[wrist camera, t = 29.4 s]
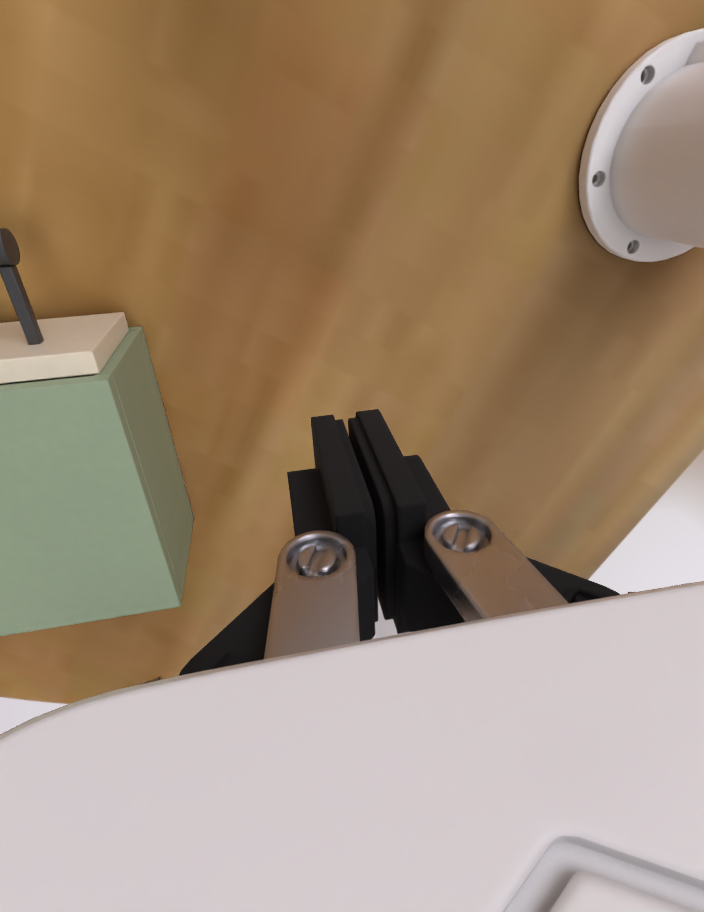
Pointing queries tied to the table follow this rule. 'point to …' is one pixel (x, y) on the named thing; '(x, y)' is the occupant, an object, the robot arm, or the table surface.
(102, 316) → the drawer
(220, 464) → the table surface
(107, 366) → the cabinet
